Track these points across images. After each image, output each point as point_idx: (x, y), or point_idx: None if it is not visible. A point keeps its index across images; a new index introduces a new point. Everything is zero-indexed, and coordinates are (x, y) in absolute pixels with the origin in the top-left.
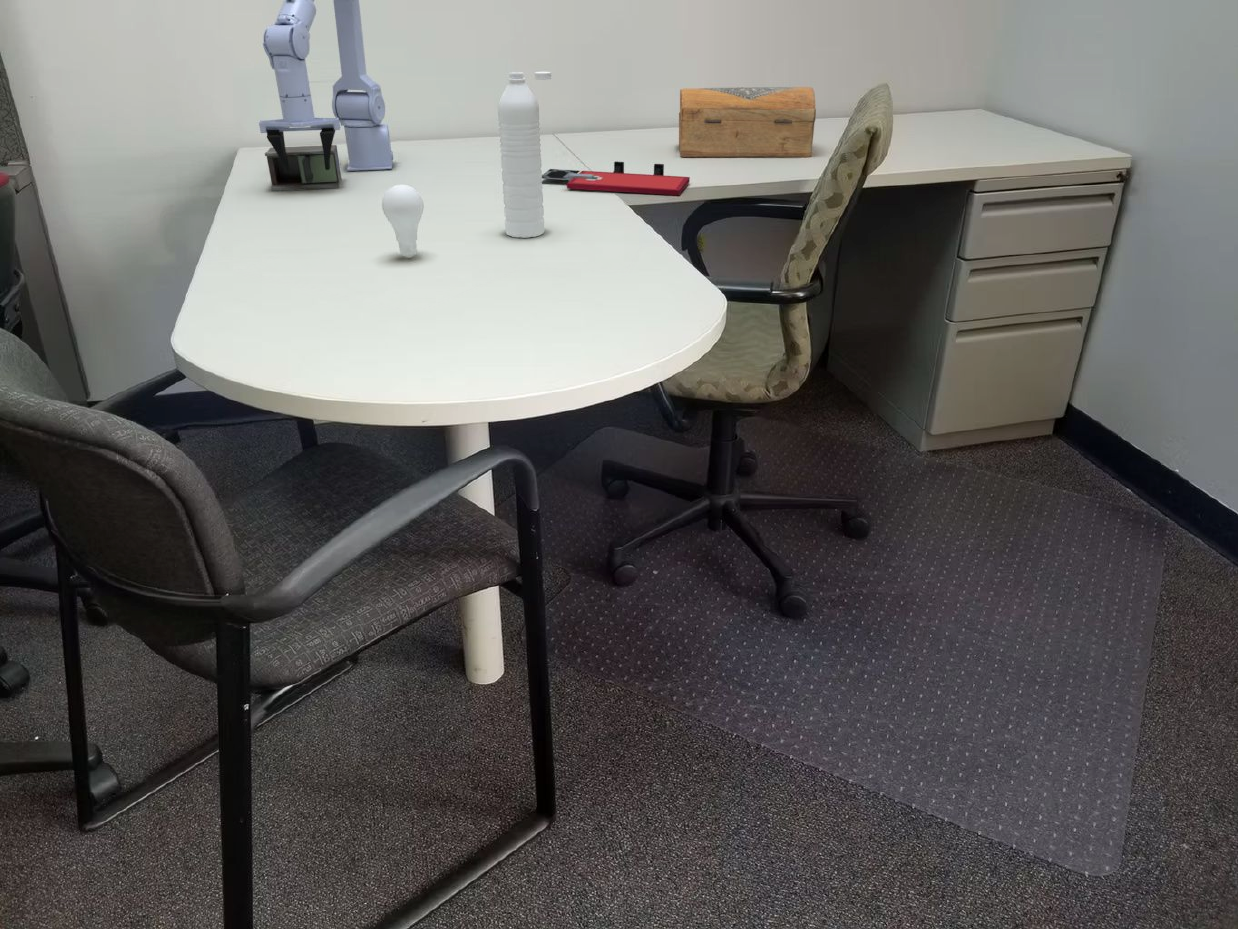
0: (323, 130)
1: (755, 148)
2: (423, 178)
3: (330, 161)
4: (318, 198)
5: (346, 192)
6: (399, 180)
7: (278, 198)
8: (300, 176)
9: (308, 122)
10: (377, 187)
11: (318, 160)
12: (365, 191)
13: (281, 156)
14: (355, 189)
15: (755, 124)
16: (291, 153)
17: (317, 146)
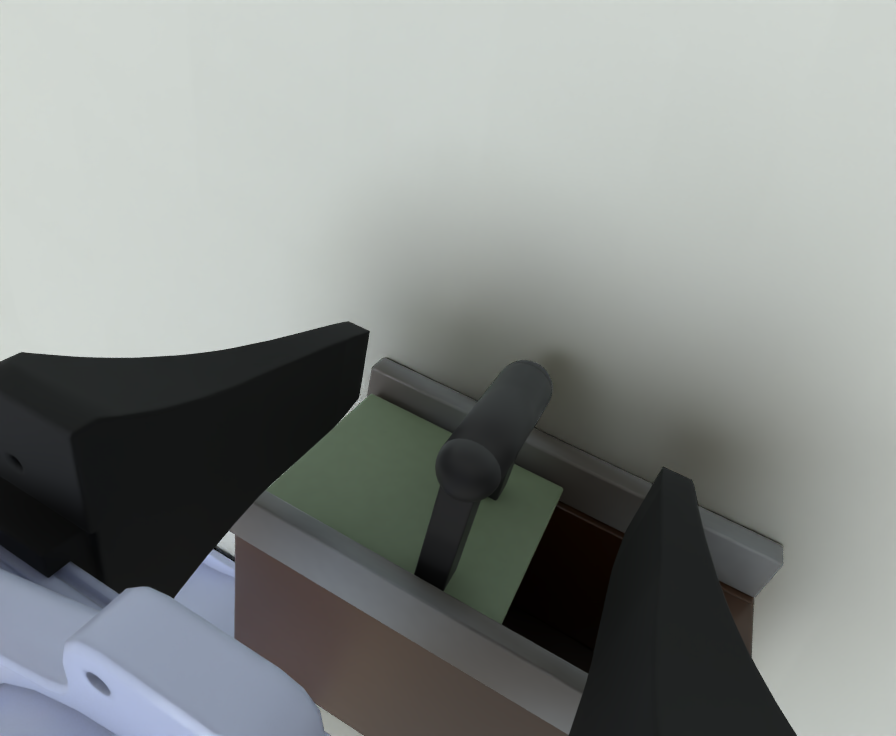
0: (51, 524)
1: None
2: (50, 304)
3: (313, 472)
4: (551, 124)
5: (355, 214)
6: (130, 331)
7: (844, 306)
8: (534, 622)
9: (15, 649)
10: (204, 243)
11: (379, 519)
12: (256, 176)
13: (691, 569)
14: (305, 265)
15: None
16: (539, 657)
17: (334, 699)
